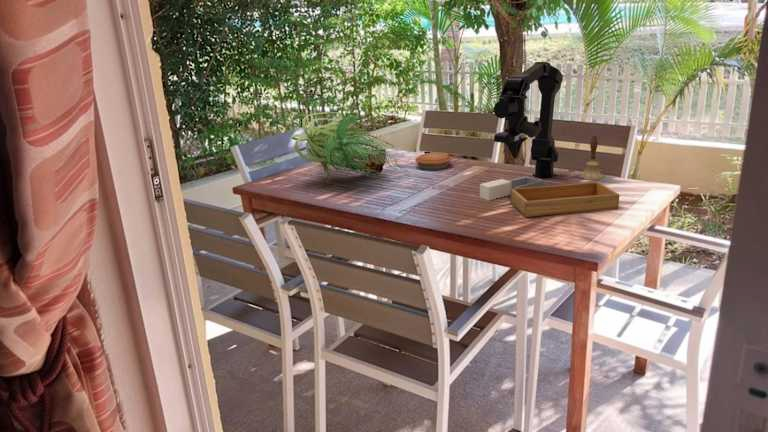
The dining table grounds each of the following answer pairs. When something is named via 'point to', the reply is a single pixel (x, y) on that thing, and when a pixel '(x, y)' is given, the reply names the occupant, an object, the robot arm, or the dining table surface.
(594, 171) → the hand bell
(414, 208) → the dining table surface
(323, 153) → the plant
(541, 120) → the robot arm
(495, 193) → the block
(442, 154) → the pie
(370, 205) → the dining table surface
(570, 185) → the tray
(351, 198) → the dining table surface
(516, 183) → the holder
